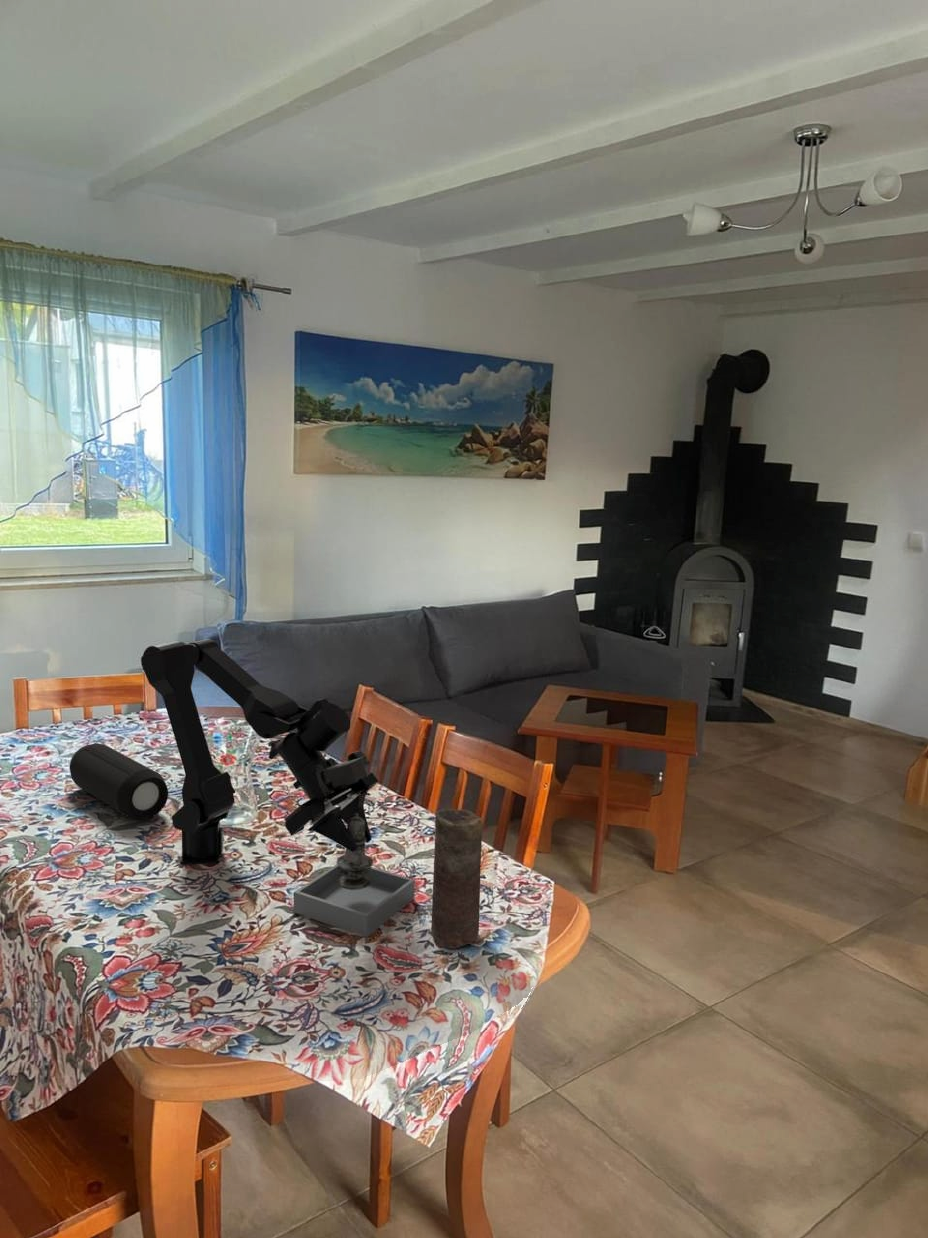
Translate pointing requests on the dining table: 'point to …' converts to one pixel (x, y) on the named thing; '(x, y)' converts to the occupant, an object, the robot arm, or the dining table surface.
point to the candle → (456, 878)
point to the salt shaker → (355, 858)
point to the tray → (354, 900)
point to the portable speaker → (119, 781)
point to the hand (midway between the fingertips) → (362, 845)
